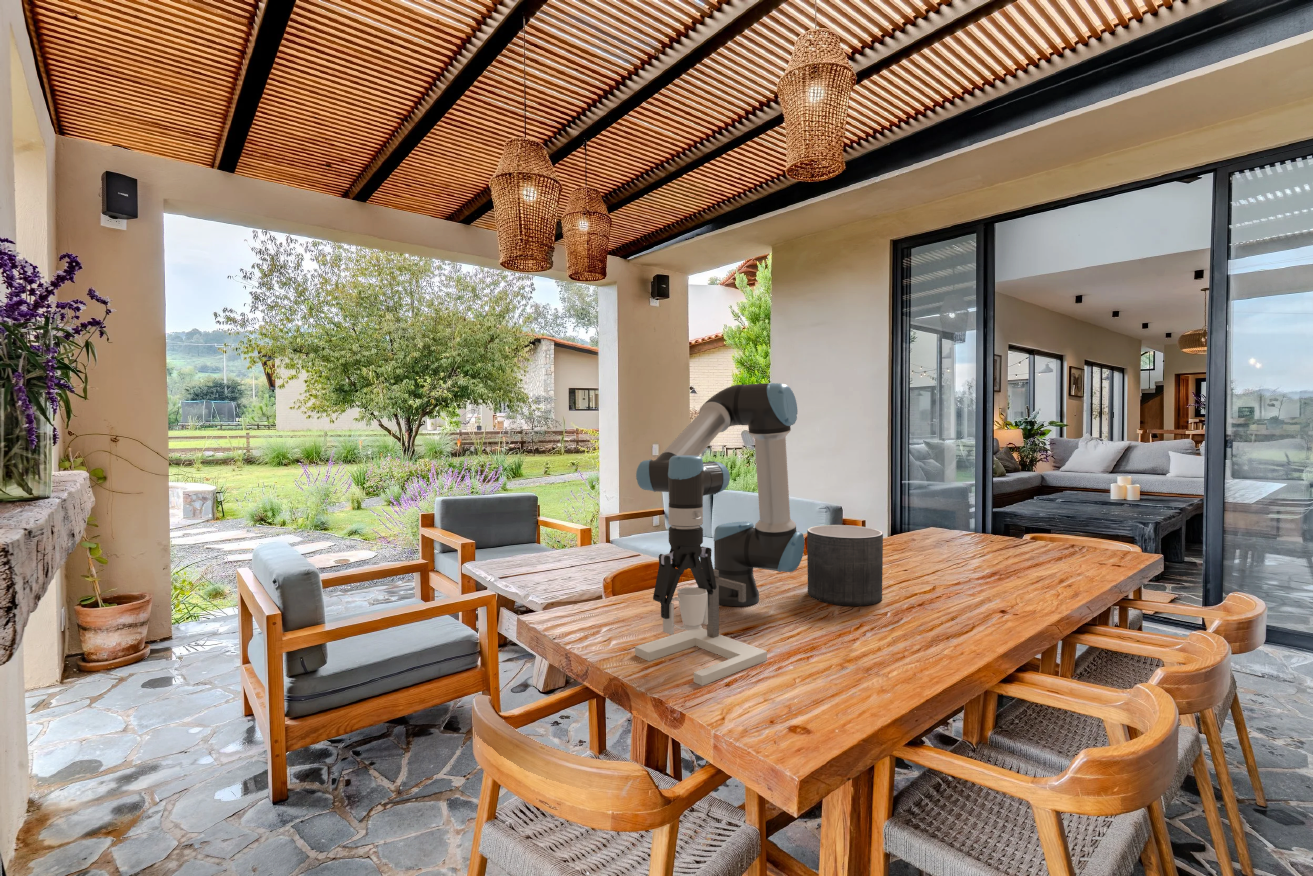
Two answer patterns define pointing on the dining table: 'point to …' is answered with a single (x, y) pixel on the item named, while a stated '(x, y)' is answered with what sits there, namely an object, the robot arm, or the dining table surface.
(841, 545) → the planter
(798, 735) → the dining table surface
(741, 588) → the hook arm
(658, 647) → the flat u-shaped bracket
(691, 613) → the cup
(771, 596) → the dining table surface
